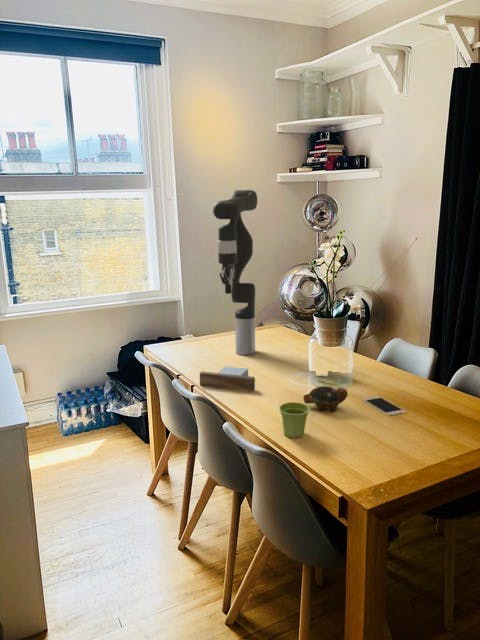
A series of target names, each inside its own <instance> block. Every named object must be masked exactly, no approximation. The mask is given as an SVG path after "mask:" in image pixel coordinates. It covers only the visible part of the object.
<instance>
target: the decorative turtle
mask: <svg viewBox="0 0 480 640" xmlns="http://www.w3.org/2000/svg"><path fill="white" fill-rule="evenodd" d="M348 396H349V395H348V391H347V389H345V388H342V387H340V388H339V387H338V388H337V389H335V388H334V387H331V386H325V385H323V386H317V387H315V388H313V389H312V390H311V391H310V392H309V393H307V394H304V395H303V402H304V404H314V405H315V407H316V408H317V410H318V411H320V412H322V411H323V410H325V409H326V408H327V409H328V410H329V411H330V412H331V413H334V412H335V411H336V410H337V408H338V406H339V405H340V404H341V403H343V402H344V401H345V400H346V398H347V397H348Z"/></svg>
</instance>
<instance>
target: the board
mask: <svg viewBox="0 0 480 640" xmlns="http://www.w3.org/2000/svg"><path fill="white" fill-rule="evenodd" d="M255 383H256V378H255V376H249V375H248V376H240V375H231V374H222V373H218V372H211V371H200V372H199V386H202V387H203V386H205V387H212V388H221V389H228V390H237V391H245V392H254V391H255V389H256V384H255Z"/></svg>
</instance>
